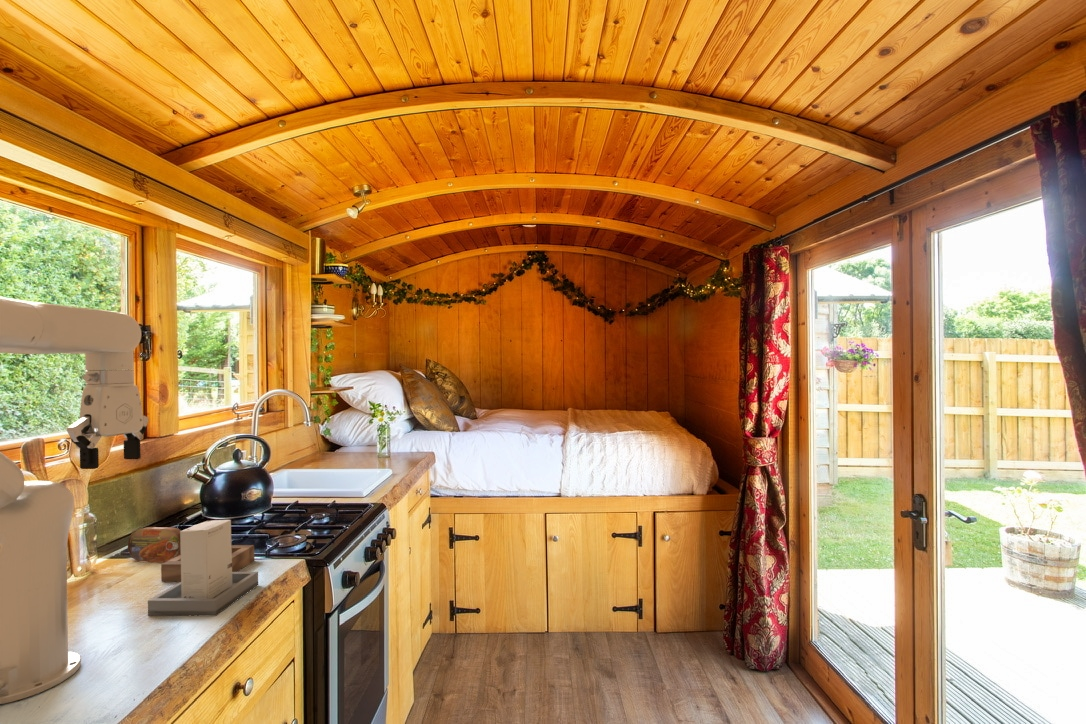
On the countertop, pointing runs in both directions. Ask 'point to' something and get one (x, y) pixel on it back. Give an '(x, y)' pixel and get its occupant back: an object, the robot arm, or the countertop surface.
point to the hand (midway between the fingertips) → (111, 463)
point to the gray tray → (177, 606)
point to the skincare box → (206, 559)
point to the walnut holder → (240, 559)
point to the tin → (155, 544)
